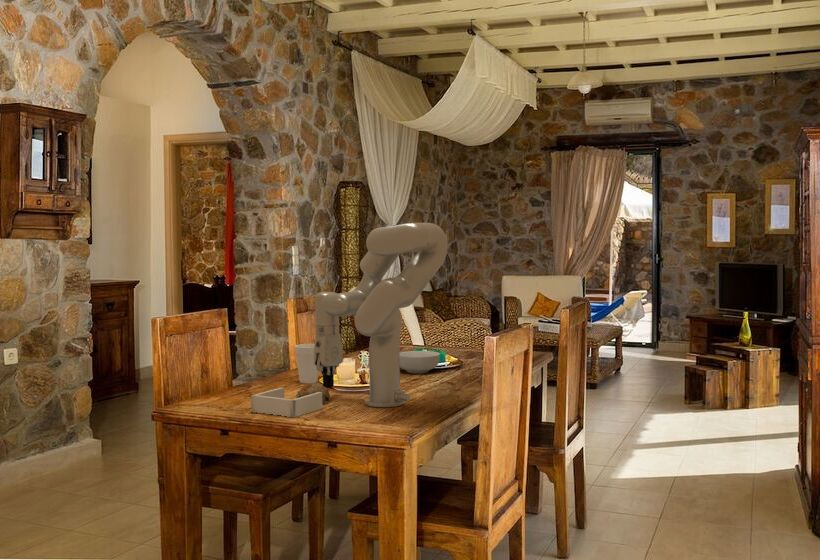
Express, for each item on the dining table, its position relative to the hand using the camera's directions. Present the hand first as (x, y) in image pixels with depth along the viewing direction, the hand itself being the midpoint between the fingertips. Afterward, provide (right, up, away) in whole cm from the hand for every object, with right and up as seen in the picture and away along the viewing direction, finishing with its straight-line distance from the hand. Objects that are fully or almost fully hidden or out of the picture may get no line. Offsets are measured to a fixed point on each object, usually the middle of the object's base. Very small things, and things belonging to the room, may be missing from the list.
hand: (328, 386), depth 271 cm
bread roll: (-4, -5, -6) cm, 9 cm away
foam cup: (-10, -2, +28) cm, 30 cm away
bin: (-11, -5, -18) cm, 21 cm away
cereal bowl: (+29, -1, +47) cm, 55 cm away
